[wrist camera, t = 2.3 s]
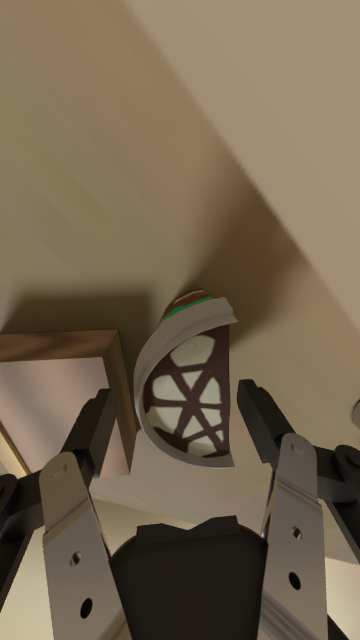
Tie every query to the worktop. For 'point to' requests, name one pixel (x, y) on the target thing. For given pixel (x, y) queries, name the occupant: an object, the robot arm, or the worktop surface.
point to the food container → (188, 382)
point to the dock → (60, 396)
